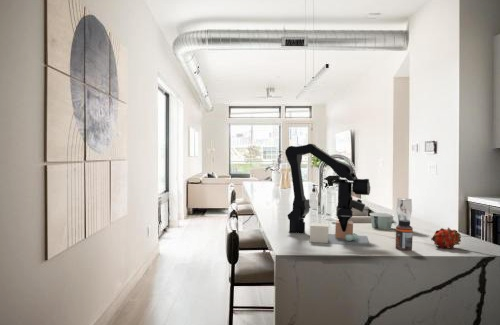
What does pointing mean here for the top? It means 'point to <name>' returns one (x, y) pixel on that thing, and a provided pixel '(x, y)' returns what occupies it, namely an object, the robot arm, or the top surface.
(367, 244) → the mat
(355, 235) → the marble
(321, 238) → the ivory rectangular chunk
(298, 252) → the top surface
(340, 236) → the salmon pink cube
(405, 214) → the beer glass
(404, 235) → the supplement bottle
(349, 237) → the marble
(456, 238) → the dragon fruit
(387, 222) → the food container
